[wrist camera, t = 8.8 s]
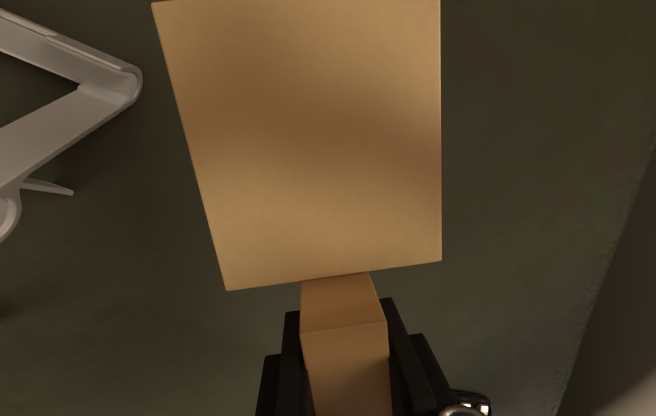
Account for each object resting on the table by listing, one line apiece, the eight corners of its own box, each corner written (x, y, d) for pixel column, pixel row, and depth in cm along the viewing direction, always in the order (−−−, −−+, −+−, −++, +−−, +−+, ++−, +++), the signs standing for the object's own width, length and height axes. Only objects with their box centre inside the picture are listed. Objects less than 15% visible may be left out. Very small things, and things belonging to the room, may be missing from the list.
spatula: (435, 434, 14) (473, 529, 11) (277, 459, 13) (268, 562, 10) (428, -21, 8) (500, -96, 5) (163, 12, 8) (76, -47, 5)
